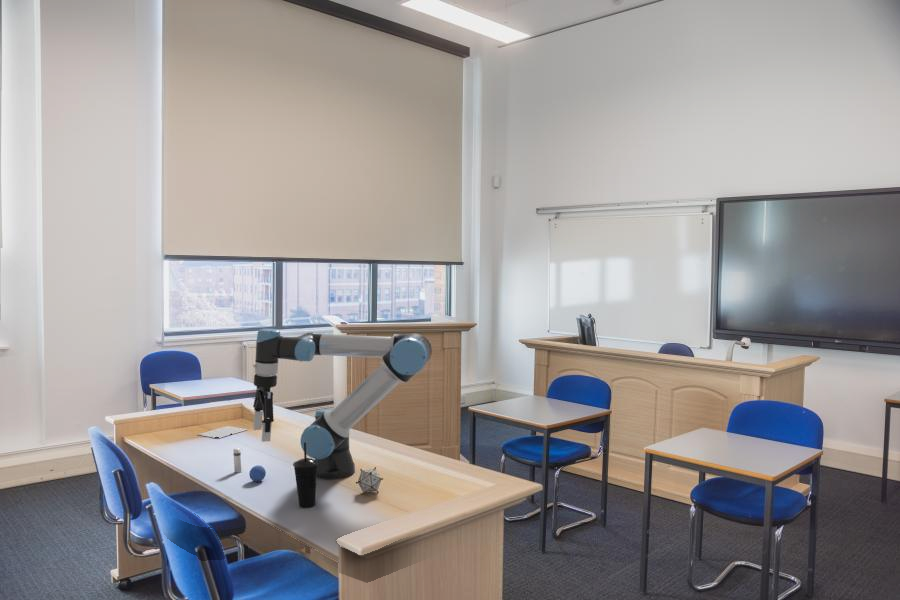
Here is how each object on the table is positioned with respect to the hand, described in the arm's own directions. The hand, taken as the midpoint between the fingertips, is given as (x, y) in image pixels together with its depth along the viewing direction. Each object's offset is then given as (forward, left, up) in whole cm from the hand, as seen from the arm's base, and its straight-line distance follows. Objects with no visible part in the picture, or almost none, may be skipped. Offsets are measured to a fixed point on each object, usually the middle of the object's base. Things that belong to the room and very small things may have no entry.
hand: (261, 435), depth 229 cm
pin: (+19, -4, -17) cm, 26 cm away
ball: (+5, -1, -15) cm, 15 cm away
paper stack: (+68, -31, -18) cm, 77 cm away
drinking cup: (-27, +5, -18) cm, 33 cm away
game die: (-36, -14, -18) cm, 43 cm away
